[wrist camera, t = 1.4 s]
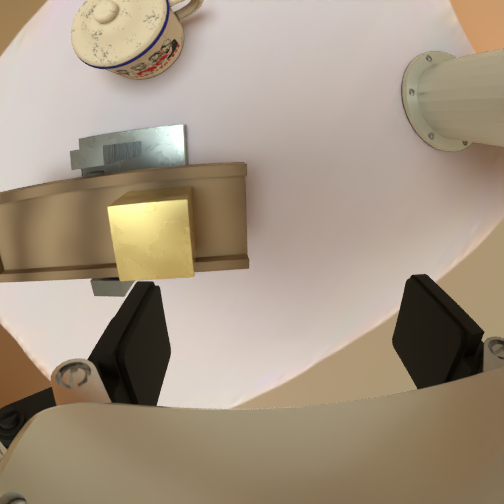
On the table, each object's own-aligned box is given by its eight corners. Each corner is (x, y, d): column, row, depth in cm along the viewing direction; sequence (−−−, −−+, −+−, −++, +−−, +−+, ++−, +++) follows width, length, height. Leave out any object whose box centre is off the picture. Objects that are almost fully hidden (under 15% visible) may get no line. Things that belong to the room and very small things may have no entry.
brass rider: (191, 185, 23) (187, 199, 18) (196, 249, 24) (194, 276, 20) (126, 191, 22) (107, 206, 17) (135, 253, 24) (119, 281, 19)
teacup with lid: (125, 97, 29) (73, 85, 18) (97, 37, 26) (43, 9, 15) (225, 44, 27) (217, 2, 16) (191, -15, 24) (171, -69, 13)
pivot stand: (185, 124, 30) (157, 121, 20) (194, 259, 36) (176, 309, 25) (85, 138, 30) (28, 145, 20) (101, 261, 36) (58, 306, 25)
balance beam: (240, 157, 25) (246, 161, 22) (243, 252, 28) (249, 270, 25) (-1, 188, 22) (-24, 197, 19) (15, 267, 26) (-4, 284, 22)
